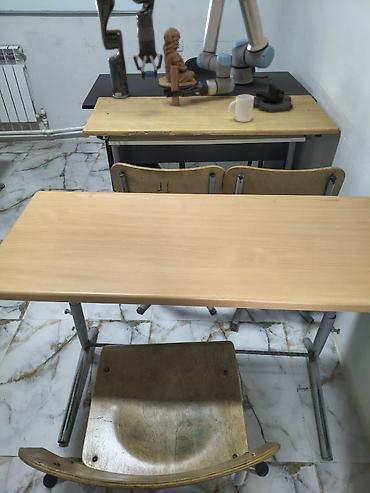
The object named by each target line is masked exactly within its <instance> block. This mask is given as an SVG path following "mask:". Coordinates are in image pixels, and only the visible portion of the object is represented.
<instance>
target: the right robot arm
mask: <svg viewBox="0 0 370 493" xmlns="http://www.w3.org/2000/svg"><path fill="white" fill-rule="evenodd" d="M237 2H238V5H239V9H240V13H241V17H242V20H243V25H244V30H245V33H246V34H245V35H246V37H247V38H242V39H236V40H234V41H233V42H232V48H231V54H230V53H228V52H221V53H218V54H217V48H218V44H219V43H218V42H219V37H220V32H221V25H222V21H223V15H224V8H225V3H226V0H209V5H208V12H207V19H206V26H205V30H204V38H203V43H202V45H203V46H202V51H201V53H199V54H198V55H197V57H196V65H197V67H198V68H200V69H202V70H205V71H210V72H214V73H215V74H216V75H215V77H216V78H215V79H213V78H212V79H207V80H199V81H198V83H197V85H196V84H194V85H192V84H188V85H182V86H179V92H178V91H171V88H163V95H164V96H165V97H166V99H168V98H170V99H171V97H177V96H179V98H180V97H181V98H189V97H198V96H199V97H207V96H213V95H220V94H228V93H232V92H233V91H234V90H235V87H236V86H247V85H250V84H253V81H254V79H266V78H269V75H264V76H263V75H262V76H259V75H258V76H257V75H256V76H255V75H253V74H252V67H253V68H258V69H263V70H264V69H267V68H269V67H270V66H271V65H272V63H273V61H274V58H275V55H276V54H275V53H276V50H275V47H274V46H272V45H270V43H269V39H268V37H266V36H265V34H264V29H263V24H262V20H261V13H260V9H259V4H258V0H237ZM216 54H217V55H216Z"/></svg>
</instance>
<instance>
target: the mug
mask: <svg viewBox="0 0 370 493" xmlns="http://www.w3.org/2000/svg"><path fill="white" fill-rule="evenodd" d="M254 97H255V96H253V95H251V94H239V95H236V97H235V100H233V101H231V102H230V103H229V105H228V108H227V112H228V114H229V116H230V117H234V119H235V121H237V122H241V123H248V122H250V121H252V120H253V113H254V107H253V103H254ZM233 106H235V110H234V113H233V112H232V107H233Z"/></svg>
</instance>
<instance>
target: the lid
mask: <svg viewBox="0 0 370 493" xmlns="http://www.w3.org/2000/svg"><path fill="white" fill-rule="evenodd" d="M144 75H145V78H153V77H154V76H155V75H154V70H144Z"/></svg>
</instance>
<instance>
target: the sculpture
mask: <svg viewBox="0 0 370 493" xmlns="http://www.w3.org/2000/svg"><path fill="white" fill-rule="evenodd" d="M163 40H164V44H163V45H162V50H163V61H164V71H165V73H164V75H165V76H163V77H159V78H158V79H157V80H158V84H159V86H161V87H163V88H166V89H170V88H171V73H170V69H171V66H173V65H176V66H178V69H179V86H182V85H188V84H192V85H196V83H197V82H198V81H197V79H195V76H196V74H195V72H194V71H192V70H188V66H187V65H186V64H185V60H184V58H183V57H182V56H183V55H180V53H179V52H178V51H177V50H178V49H179V46H180V40H181V33H180V32H179V30H178V29H177V28H174V27H168V28H167V29H166V30H165V31H164V33H163Z"/></svg>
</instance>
